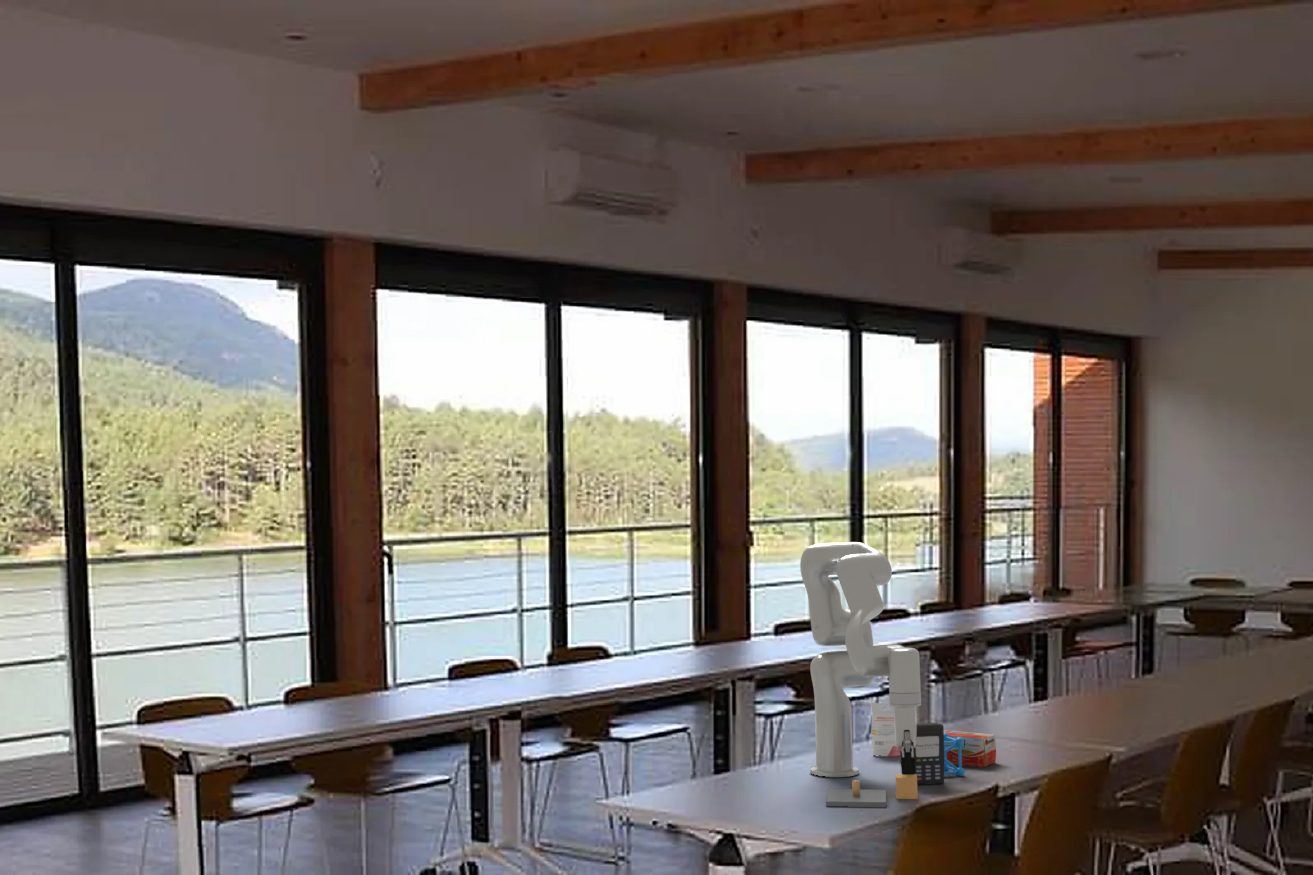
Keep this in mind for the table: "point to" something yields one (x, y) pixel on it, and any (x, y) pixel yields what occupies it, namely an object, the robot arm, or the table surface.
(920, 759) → the card reader
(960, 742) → the molecular structure
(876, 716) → the ink cartridge box
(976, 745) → the medicine box
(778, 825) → the table surface
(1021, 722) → the table surface
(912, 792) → the tan wooden cube
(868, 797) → the plate
